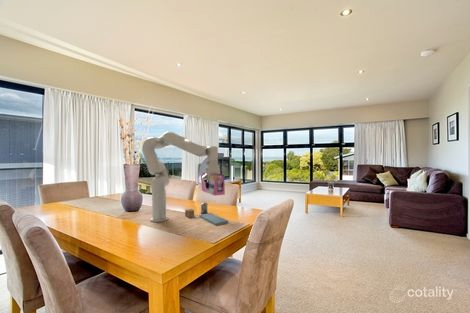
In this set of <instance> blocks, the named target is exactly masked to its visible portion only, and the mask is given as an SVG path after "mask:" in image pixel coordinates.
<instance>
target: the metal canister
mask: <svg viewBox="0 0 470 313" xmlns="http://www.w3.org/2000/svg"><path fill="white" fill-rule="evenodd" d="M200 213H201V214H200V215H202V214H207V213H208V202H200Z"/></svg>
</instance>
